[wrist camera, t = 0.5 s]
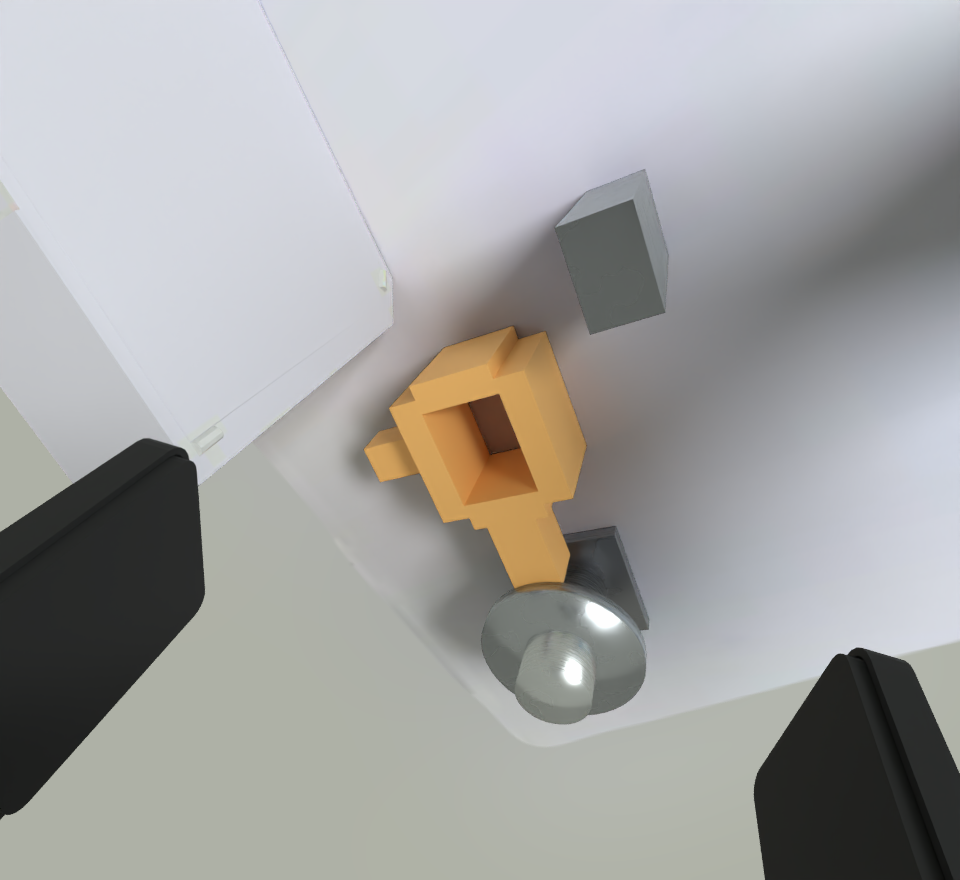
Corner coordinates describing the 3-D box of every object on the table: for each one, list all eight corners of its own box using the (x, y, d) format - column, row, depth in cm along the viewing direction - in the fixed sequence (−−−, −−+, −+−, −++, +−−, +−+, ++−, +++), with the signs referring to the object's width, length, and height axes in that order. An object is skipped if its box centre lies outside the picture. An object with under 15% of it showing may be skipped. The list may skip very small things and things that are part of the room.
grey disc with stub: (626, 511, 41) (612, 621, 32) (667, 628, 45) (664, 755, 36) (486, 535, 45) (441, 639, 36) (534, 641, 48) (503, 758, 40)
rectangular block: (645, 168, 31) (632, 198, 23) (668, 255, 33) (665, 312, 25) (586, 191, 33) (554, 227, 24) (611, 273, 34) (590, 334, 26)
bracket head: (540, 317, 36) (517, 354, 31) (613, 520, 41) (604, 580, 36) (367, 371, 41) (323, 411, 36) (451, 547, 46) (423, 604, 41)
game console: (149, -243, 29) (-582, -696, 12) (413, 309, 38) (204, 483, 22) (71, -162, 31) (-632, -447, 15) (337, 339, 41) (96, 518, 24)
